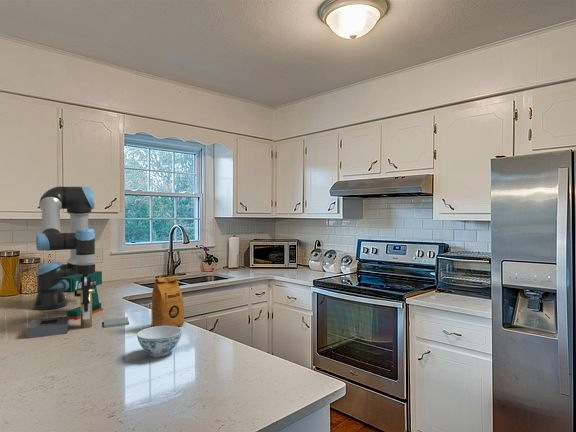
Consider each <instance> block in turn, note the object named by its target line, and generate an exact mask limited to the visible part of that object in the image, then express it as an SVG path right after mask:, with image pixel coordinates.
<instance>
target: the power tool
mask: <svg viewBox="0 0 576 432" xmlns="http://www.w3.org/2000/svg"><path fill="white" fill-rule="evenodd" d="M81 277H83V274H75V275H70V276H66V277H61V278H58V282H57V283H56V285H55V286H53V287H51V288H49V289H53V290H58V291H59V292H63V293H74V294H73V295H74V297H78V298H80V294H77V290H83V288H81ZM89 277H91V281H90V288H89V289H95V293H92V315H93V314H96V313H99V312H100V313H101V312H102V311H104V308H103V307H102V302H100V299H99V294H98V289H97V286H101V285H103V271H102V270H101V271H100V270H99V271H98V270H95V272H94V273H89ZM66 316H69V320H72V319H74V321H75V320H77V321H78V320H81V306H77V307H74V308H70V309H68V310H66Z"/></svg>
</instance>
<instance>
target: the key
mask: <svg viewBox="0 0 576 432" xmlns="http://www.w3.org/2000/svg"><path fill="white" fill-rule="evenodd" d="M92 293H95V289H89V302H90V319H83V305H81V303H82V302H83V290H77V294H80V297H79V298H80V303H79V305H80V306H81V319H80V329H89V328H92V327H93V314H92ZM86 301H87V300H86ZM80 306H79V307H80Z"/></svg>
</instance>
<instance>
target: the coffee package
mask: <svg viewBox="0 0 576 432" xmlns="http://www.w3.org/2000/svg"><path fill="white" fill-rule="evenodd" d="M178 280H179V276H178V275H172V276H166V277H165V276H164V277H158V278H155V280H154V284H153V287H152V293H151V294H152V295H151V323H152V325H151V326H152V327H156V326H176V327H181V326H184V323H185V313H184V312H185V311H184V310H185V309H184V307H185V306H184V297H183V293H182V291H181V287H180V285H179V282H178Z"/></svg>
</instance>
